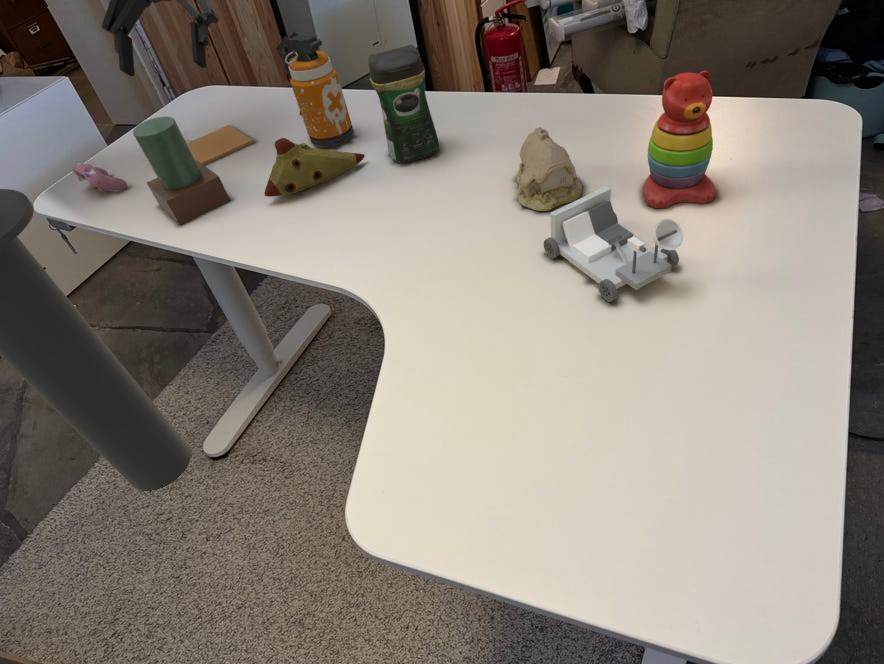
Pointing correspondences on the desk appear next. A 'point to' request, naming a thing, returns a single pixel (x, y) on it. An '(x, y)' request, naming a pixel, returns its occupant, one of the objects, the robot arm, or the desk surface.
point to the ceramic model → (546, 173)
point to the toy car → (610, 245)
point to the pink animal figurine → (98, 177)
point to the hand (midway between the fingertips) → (163, 68)
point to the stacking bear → (681, 144)
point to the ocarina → (305, 167)
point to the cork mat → (218, 144)
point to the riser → (191, 196)
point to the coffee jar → (403, 103)
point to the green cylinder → (167, 152)
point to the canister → (316, 90)
